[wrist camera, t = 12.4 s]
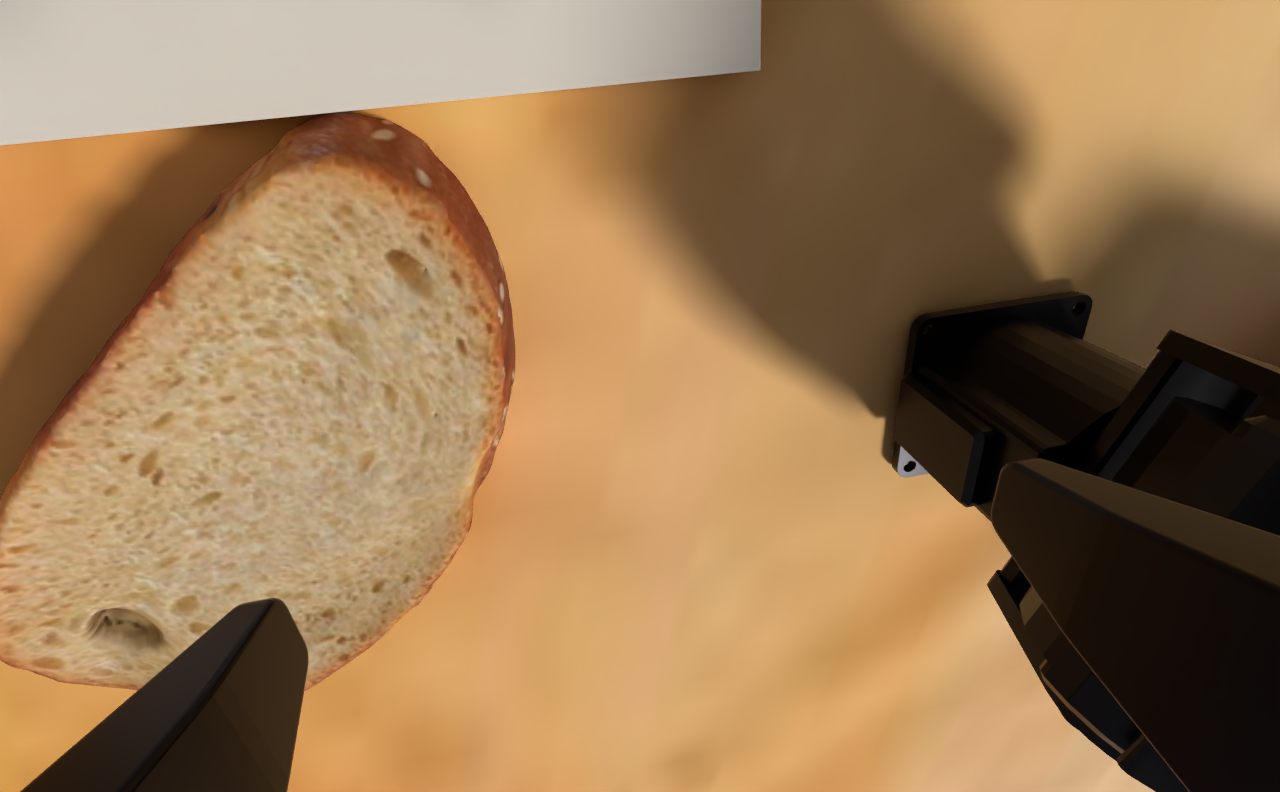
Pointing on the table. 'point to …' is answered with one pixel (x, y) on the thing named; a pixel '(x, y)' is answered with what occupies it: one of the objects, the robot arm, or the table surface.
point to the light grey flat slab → (336, 56)
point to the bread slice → (271, 420)
